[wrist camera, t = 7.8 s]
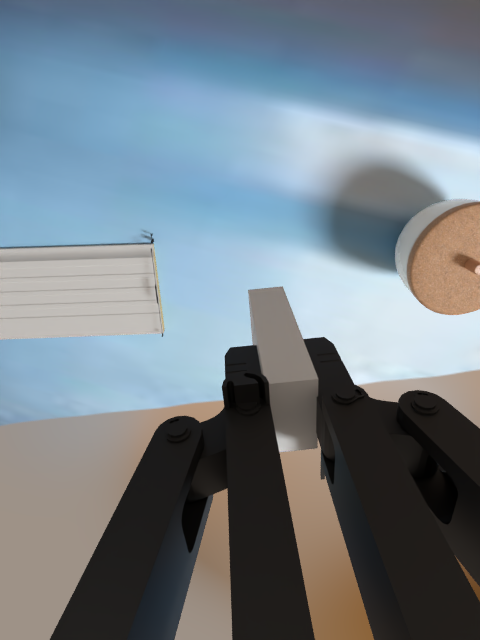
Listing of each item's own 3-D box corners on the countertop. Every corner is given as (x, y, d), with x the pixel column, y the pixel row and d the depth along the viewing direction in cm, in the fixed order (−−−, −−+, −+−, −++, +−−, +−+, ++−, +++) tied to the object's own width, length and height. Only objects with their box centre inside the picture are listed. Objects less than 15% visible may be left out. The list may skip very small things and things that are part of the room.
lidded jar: (391, 299, 45) (430, 339, 36) (369, 215, 40) (408, 238, 32) (483, 264, 43) (545, 297, 35) (471, 172, 39) (540, 185, 30)
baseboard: (-145, 237, 39) (-96, 337, 45) (-171, 244, 37) (-116, 349, 42) (153, 228, 40) (165, 327, 46) (148, 235, 38) (162, 339, 43)
